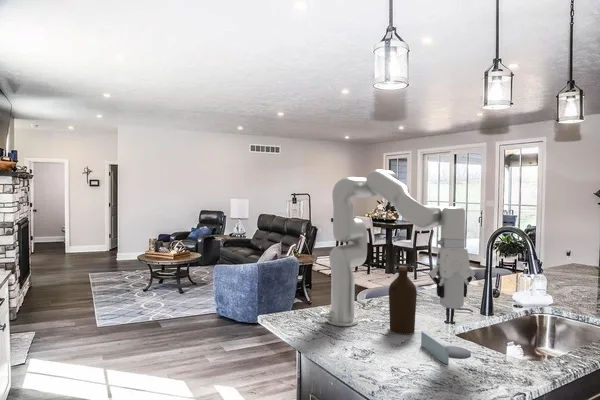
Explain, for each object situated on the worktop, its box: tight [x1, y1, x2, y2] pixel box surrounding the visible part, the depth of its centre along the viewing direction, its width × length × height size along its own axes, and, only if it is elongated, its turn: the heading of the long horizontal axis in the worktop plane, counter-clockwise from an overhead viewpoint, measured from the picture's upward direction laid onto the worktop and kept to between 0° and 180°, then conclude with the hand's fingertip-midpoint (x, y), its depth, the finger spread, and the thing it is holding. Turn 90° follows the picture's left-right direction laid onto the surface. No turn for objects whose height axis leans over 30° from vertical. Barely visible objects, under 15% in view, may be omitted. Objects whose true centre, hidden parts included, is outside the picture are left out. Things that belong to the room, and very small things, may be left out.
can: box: [439, 273, 465, 310], centre depth 140 cm, size 8×8×12 cm
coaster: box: [446, 345, 472, 359], centre depth 141 cm, size 10×10×1 cm
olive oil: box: [388, 265, 418, 335], centre depth 163 cm, size 11×11×25 cm
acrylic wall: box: [420, 330, 450, 364], centre depth 139 cm, size 1×16×5 cm, turn 11°
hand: (451, 296), depth 140 cm, fingers closed on can, 7 cm apart
